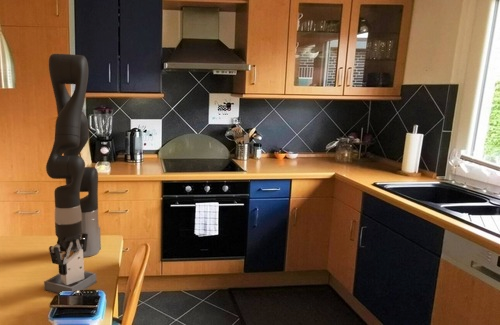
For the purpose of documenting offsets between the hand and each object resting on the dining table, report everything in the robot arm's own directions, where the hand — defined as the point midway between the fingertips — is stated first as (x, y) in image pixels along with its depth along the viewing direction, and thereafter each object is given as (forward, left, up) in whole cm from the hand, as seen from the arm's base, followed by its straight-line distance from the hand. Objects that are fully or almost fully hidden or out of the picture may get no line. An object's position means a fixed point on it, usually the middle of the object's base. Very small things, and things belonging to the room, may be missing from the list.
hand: (70, 270), depth 125 cm
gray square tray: (0, 0, -5) cm, 5 cm away
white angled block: (-1, 0, -4) cm, 4 cm away
